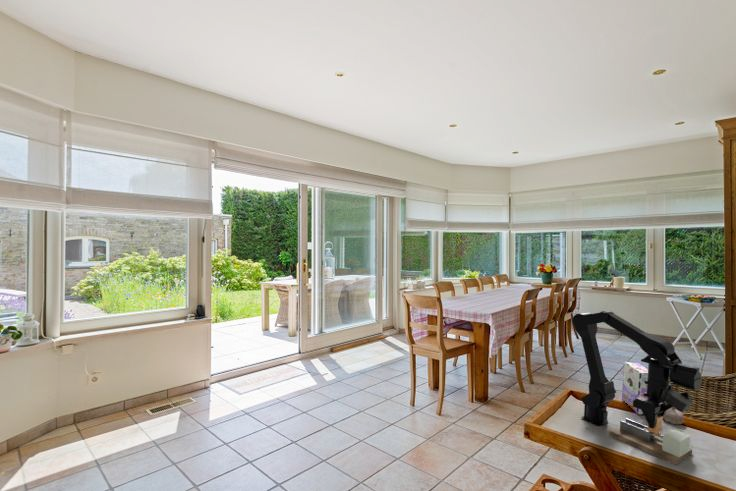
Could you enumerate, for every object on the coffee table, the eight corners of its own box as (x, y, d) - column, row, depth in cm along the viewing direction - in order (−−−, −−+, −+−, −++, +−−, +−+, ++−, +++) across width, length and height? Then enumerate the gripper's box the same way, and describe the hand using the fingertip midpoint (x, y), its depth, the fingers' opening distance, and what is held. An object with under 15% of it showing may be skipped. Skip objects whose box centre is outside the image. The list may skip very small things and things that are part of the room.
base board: (608, 434, 132) (609, 430, 132) (626, 426, 139) (626, 422, 139) (675, 464, 116) (675, 459, 116) (691, 454, 122) (692, 449, 122)
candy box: (654, 416, 147) (657, 374, 147) (636, 414, 148) (639, 372, 148) (636, 401, 161) (639, 362, 160) (620, 399, 162) (623, 360, 161)
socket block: (661, 450, 121) (663, 434, 121) (671, 444, 125) (673, 429, 125) (679, 457, 117) (680, 441, 117) (689, 451, 121) (690, 435, 121)
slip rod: (640, 436, 128) (642, 413, 127) (646, 433, 130) (648, 410, 129) (677, 451, 119) (678, 427, 119) (682, 448, 121) (684, 424, 121)
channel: (619, 429, 133) (620, 420, 133) (625, 427, 135) (626, 418, 135) (649, 442, 125) (650, 432, 125) (655, 439, 127) (656, 429, 127)
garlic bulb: (670, 416, 149) (671, 395, 149) (690, 425, 142) (692, 403, 142) (655, 417, 147) (656, 396, 147) (674, 427, 140) (676, 405, 140)
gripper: (675, 394, 114) (671, 446, 114) (701, 383, 123) (697, 431, 124) (633, 380, 123) (630, 428, 124) (660, 371, 133) (657, 416, 133)
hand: (654, 426), depth 126 cm, fingers open, 4 cm apart
